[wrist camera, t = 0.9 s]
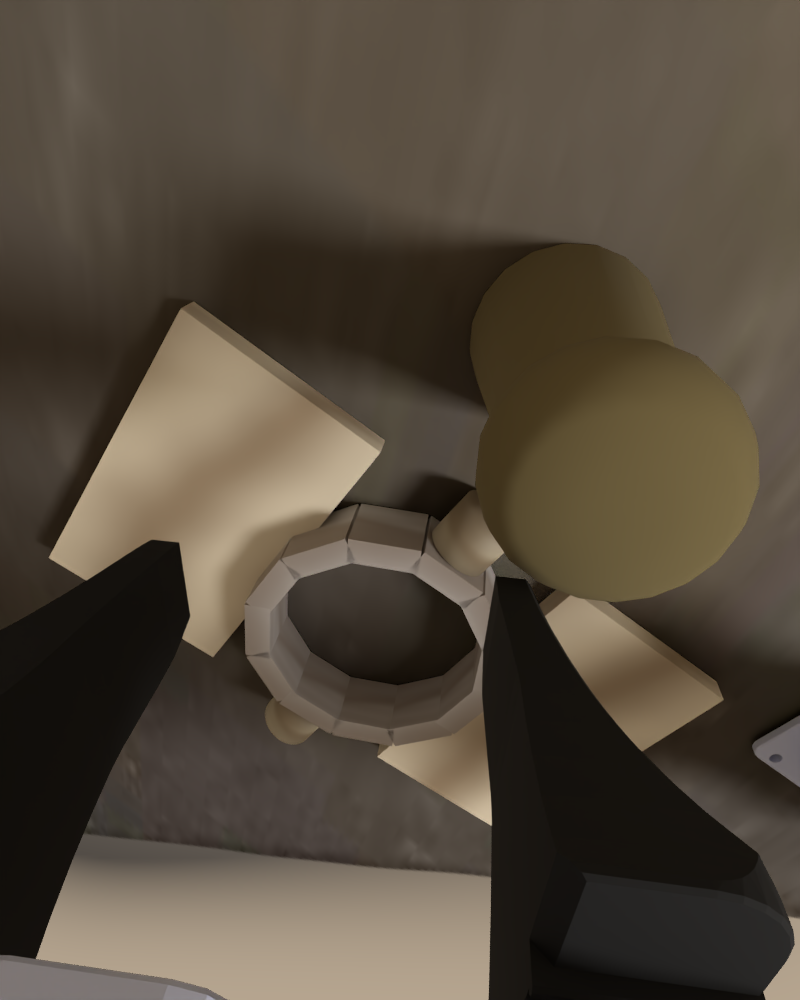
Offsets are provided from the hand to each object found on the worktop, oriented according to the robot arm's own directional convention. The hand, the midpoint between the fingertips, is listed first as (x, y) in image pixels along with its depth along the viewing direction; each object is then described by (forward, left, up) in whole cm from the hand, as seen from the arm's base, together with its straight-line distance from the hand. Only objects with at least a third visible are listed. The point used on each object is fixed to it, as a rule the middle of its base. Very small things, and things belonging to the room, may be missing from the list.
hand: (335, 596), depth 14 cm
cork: (-3, -5, -11) cm, 12 cm away
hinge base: (-5, +8, -11) cm, 14 cm away
